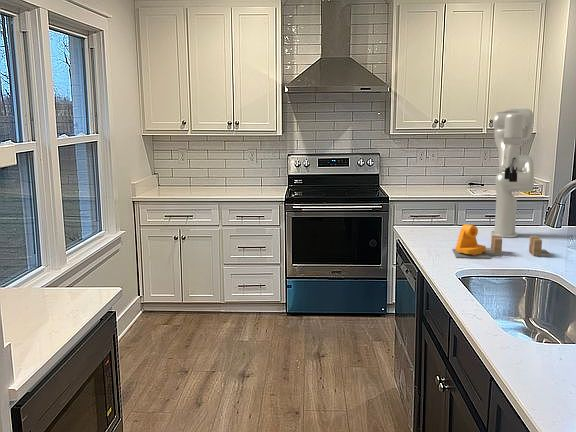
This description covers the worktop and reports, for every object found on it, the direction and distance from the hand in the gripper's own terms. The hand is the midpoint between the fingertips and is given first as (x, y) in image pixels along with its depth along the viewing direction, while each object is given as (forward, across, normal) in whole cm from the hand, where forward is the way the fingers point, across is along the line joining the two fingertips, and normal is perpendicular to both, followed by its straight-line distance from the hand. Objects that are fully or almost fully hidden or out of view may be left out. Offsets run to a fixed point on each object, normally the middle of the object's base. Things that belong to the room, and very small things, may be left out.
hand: (510, 180), depth 250 cm
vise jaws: (+30, +13, +1) cm, 33 cm away
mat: (+30, +17, -18) cm, 39 cm away
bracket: (+30, +17, -18) cm, 39 cm away
